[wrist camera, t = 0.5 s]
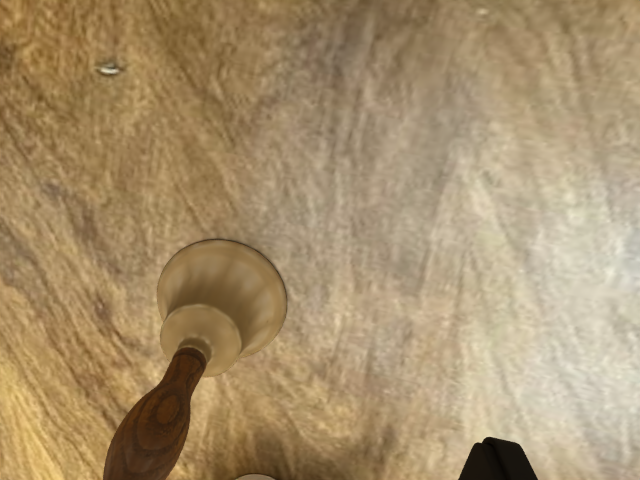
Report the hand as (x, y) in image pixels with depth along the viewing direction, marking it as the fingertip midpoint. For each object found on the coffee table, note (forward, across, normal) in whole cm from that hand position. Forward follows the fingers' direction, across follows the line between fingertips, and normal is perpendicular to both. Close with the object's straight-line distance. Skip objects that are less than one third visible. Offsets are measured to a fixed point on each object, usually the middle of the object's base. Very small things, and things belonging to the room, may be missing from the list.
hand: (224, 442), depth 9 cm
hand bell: (+21, +3, +8) cm, 22 cm away
